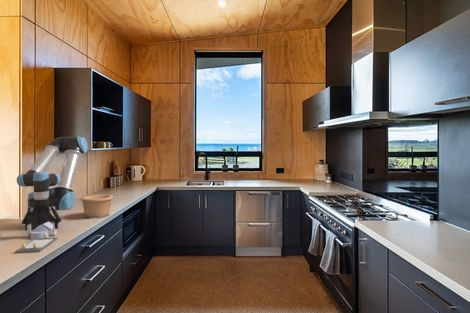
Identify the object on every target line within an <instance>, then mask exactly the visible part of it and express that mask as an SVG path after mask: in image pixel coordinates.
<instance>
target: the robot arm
mask: <svg viewBox="0 0 470 313" xmlns="http://www.w3.org/2000/svg"><path fill="white" fill-rule="evenodd" d="M88 148H89V147H88V142H87V140H86V138H85V137H83V136H59V137H56V138H54V139H53V140H51V141H50V142H49V143H47V145H46V146H45V147H44V151H43V152H42V153H41V154H40V155H39V157H38V158H37V159H36V160H35V161H34V163H33V164H32V165H31V167H30V168H29V169H28V170H27V171H26V173H20V174H18V176H17V177H16V183H17V185H18V186H19V187H25V188H26V187H28V188H29V187H33V191H31V192H29V193H28V195H27V211H26V213H25V215H24V217H23V219H22V221H21V224H22V225H24V227H25V231H27V234H26V235H27V237H30V232H31V231H33V230H34V229H35V228H37V227H38V226H39V225H42V224H44V223H47V222H50V223H52V224H53V229H52V234H53V236H56V235H57V233H58V232H57V231H58V230H57V229H59V223H62V221H63V220H62V219H61V217H60V215H59V213H58V211H68V210H71V209H72V208H73V207H74V206H75V203H76V193H75V192H74V190H73V184H74V181H75V177H76V172H77V169H78V166H79V161H80V158H82V157H83V155H84V154H86V153H88ZM60 154H64V155H65V158H64V161H63V165H62V167H61V168H62V169H61V172H60V175H59V174H57V173H49V172H47V171H46V170H47V168H49V166H50V164H51V163H52V162H53V160H54V159H55V158H56V157H58V156H59V155H60ZM50 187H53V191H50Z"/></svg>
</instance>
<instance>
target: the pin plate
mask: <svg viewBox="0 0 470 313" xmlns="http://www.w3.org/2000/svg"><path fill="white" fill-rule="evenodd" d="M57 240H59V239H58V237H57V236H56V237H54V236H53V237H47V233H44V238H36V239H32V240H31V241H29V242H28V243H26V242H24V243H23V242H22V243H21V247H20V248H18V249H16V250H15V251H14V252H15V253H14V254H24V253H26V254H28V253H29V254H30V253H40V252H43V250H45V249H46V248H47V247H49V246H50V245H51V244H53V243H54V242H55V241H57Z"/></svg>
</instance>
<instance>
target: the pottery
mask: <svg viewBox="0 0 470 313" xmlns="http://www.w3.org/2000/svg"><path fill="white" fill-rule="evenodd" d="M113 199H114V196H113V195H112V194H90V195H85V196H82V197H80V201H81V202H82V208H83V212H84V218H86V219H89V218H96V219H102V218H107V217H109V216H110V213H111V207H112V206H111V205H112V200H113Z"/></svg>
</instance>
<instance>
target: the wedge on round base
mask: <svg viewBox="0 0 470 313" xmlns="http://www.w3.org/2000/svg"><path fill="white" fill-rule="evenodd" d="M53 224H54V223H53ZM53 224H52V223H50V222H47V223H44V224H42V225H39V226H38V227H37V228H35V229H34V230H31V232H30V236H29V237H30V239H31V240H34V239H36V238H44V233H47V238H49V237H50V231H51V230H53Z"/></svg>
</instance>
